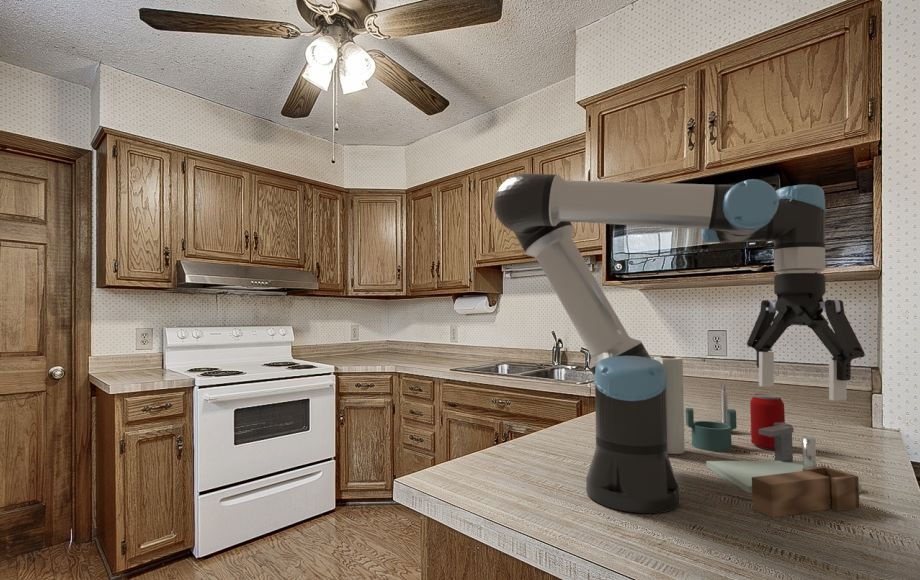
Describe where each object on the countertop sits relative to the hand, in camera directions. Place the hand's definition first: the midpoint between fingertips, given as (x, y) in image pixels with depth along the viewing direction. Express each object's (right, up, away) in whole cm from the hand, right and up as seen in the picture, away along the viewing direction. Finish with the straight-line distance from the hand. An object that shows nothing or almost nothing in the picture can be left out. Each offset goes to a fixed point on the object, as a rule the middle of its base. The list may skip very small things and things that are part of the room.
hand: (799, 392), depth 85 cm
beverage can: (+12, -19, +27) cm, 35 cm away
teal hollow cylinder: (-1, -19, +28) cm, 34 cm away
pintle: (+5, -16, +5) cm, 18 cm away
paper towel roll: (-13, -19, +24) cm, 33 cm away
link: (-4, -17, -7) cm, 19 cm away
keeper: (+3, -18, +11) cm, 21 cm away
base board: (0, -18, +6) cm, 19 cm away
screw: (+10, -19, +41) cm, 46 cm away
